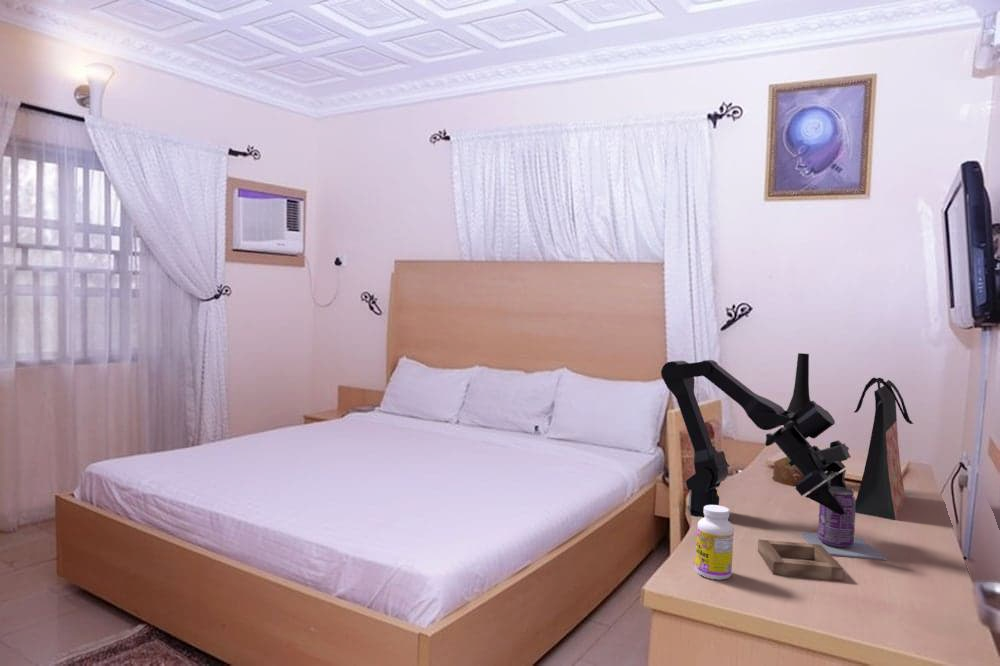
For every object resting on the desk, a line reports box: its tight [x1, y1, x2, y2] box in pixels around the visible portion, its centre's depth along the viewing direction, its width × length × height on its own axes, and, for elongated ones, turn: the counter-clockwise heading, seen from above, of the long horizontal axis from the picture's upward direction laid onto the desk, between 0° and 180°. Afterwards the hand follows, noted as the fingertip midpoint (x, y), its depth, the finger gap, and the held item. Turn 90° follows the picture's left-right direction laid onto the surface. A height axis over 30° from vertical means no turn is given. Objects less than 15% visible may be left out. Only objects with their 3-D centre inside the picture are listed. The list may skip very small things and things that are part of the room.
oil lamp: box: [771, 352, 811, 487], centre depth 204 cm, size 14×15×40 cm
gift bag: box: [853, 377, 914, 521], centre depth 177 cm, size 29×14×35 cm, turn 144°
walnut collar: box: [757, 538, 844, 582], centre depth 133 cm, size 13×13×2 cm
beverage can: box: [817, 486, 856, 547], centre depth 145 cm, size 7×7×12 cm
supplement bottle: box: [694, 504, 735, 581], centre depth 126 cm, size 7×7×13 cm
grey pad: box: [800, 531, 886, 561], centre depth 145 cm, size 13×13×1 cm
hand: (848, 509), depth 144 cm, fingers open, 9 cm apart
